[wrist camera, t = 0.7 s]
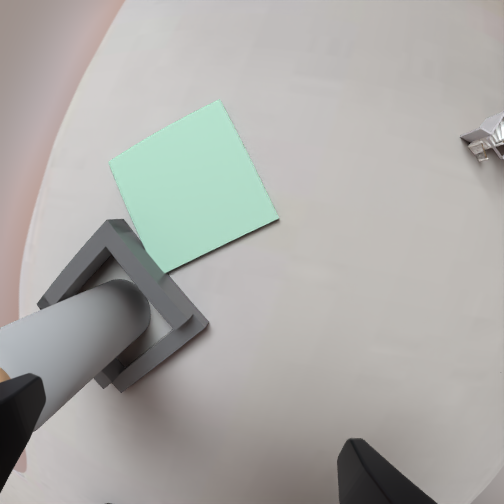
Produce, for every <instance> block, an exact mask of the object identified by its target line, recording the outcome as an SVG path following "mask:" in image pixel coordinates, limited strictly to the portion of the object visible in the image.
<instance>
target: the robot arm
mask: <svg viewBox="0 0 504 504" xmlns="http://www.w3.org/2000/svg"><path fill="white" fill-rule="evenodd" d="M45 403H46V394H45V390H44V385H43V380H42V378H41V377H40V376H38V375H35V374H33V373H27V374H24V375H21V376H18V377H15V378H12V379H9V380H6V381H3V382H0V493H1V491H2V489H3V487H4V485H5V483H6V481H7V479H8V477H9V475H10V474H11V472H12V470H13V468H14V466H15V464H16V463H17V461H18V459H19V457H20V455H21V454H22V452H23V450H24V448H25V447H26V445H27V443H28V441H29V439H30V437H31V435H32V433H33V430H34V428H35V426H36V424H37V421H38V419H39V417H40V415H41V412H42V410H43V408H44V406H45ZM337 468H338V485H339V503H340V504H437V503H436V502H435V501H434V500H433V499H431V498H430V497H429V496H428V495H426V494H425V493H424V492H423V491H422V490H420V489H419V488H418V487H417V486H416V485H415V484H413V483H412V482H411V481H410V480H409V479H407V478H406V477H405V476H404V475H403V474H402V473H401V472H399V471H398V470H397V469H396V468H395V467H394V466H392V465H391V464H390V463H389V462H388V461H387V460H386V459H385V458H383V457H382V456H381V455H380V454H379V453H378V452H377V451H376V450H374V449H373V448H372V447H371V446H370V445H369V444H368V443H367V442H366V441H365V440H363V439H361V438H350V439H348V440H347V441H346V443H345V445H344V447H343V448H342V450H341V452H340V454H339V456H338V459H337Z"/></svg>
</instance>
